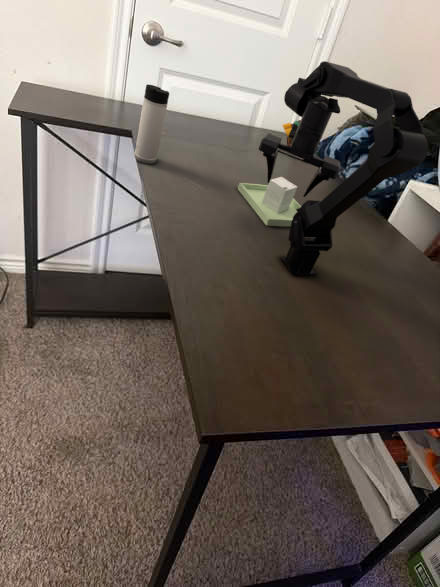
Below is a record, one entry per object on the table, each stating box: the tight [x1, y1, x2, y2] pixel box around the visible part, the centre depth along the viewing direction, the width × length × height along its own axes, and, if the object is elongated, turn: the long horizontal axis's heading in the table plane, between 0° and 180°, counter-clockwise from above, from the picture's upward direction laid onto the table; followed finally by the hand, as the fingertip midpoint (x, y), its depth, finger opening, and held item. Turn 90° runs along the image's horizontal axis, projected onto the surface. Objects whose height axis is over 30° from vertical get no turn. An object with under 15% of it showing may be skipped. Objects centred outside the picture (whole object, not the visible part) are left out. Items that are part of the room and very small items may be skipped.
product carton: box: [261, 176, 298, 213], centre depth 119 cm, size 6×6×7 cm
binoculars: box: [282, 119, 301, 147], centre depth 160 cm, size 14×14×15 cm
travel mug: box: [133, 83, 170, 165], centre depth 116 cm, size 6×7×20 cm
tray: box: [237, 182, 302, 227], centre depth 121 cm, size 19×15×2 cm
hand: (286, 189), depth 103 cm, fingers open, 9 cm apart
